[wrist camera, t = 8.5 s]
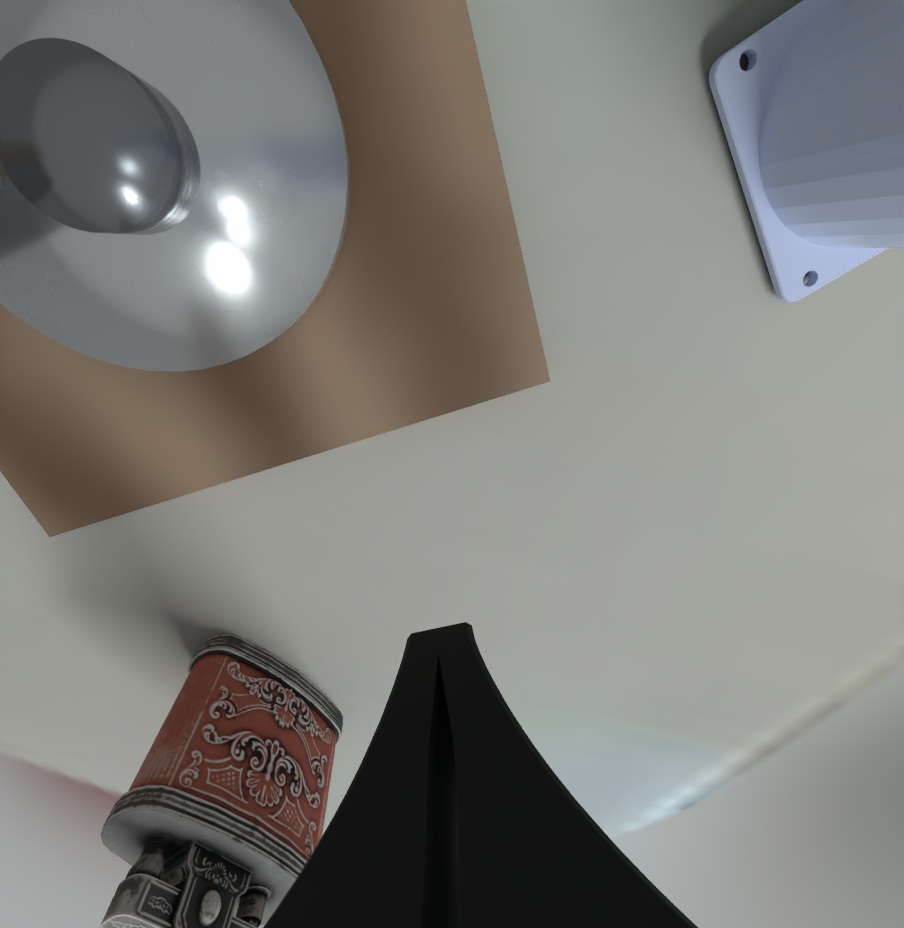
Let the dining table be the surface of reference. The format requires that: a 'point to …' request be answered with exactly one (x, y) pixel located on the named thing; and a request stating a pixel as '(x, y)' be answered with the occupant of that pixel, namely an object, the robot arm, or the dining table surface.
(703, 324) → the dining table surface
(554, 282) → the dining table surface
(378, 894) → the robot arm
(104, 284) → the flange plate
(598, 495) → the dining table surface
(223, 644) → the lighter
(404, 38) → the walnut board
